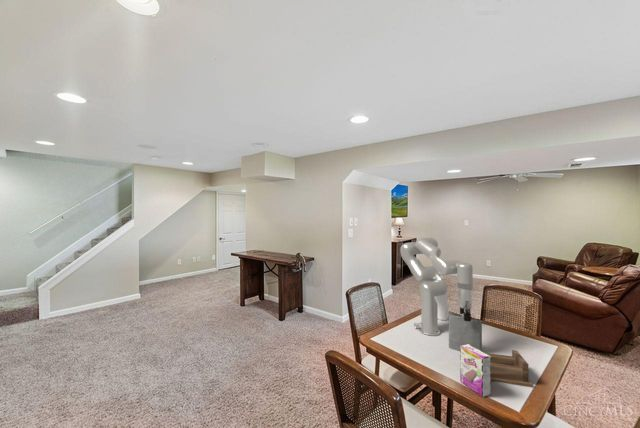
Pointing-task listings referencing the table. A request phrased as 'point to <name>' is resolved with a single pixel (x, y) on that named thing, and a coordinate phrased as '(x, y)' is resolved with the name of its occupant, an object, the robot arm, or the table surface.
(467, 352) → the candy bar box
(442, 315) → the white tall cylinder
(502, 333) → the table surface
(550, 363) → the table surface
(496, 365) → the brown rectangular open tray
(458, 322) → the hip flask
